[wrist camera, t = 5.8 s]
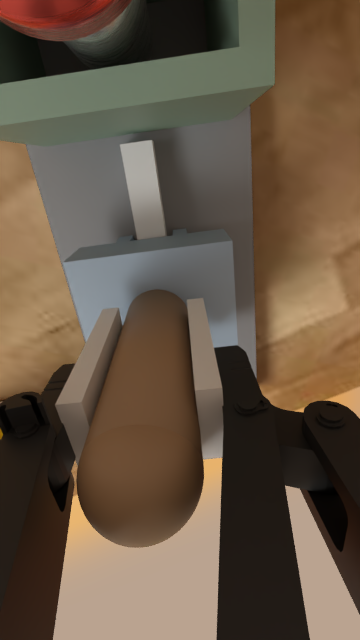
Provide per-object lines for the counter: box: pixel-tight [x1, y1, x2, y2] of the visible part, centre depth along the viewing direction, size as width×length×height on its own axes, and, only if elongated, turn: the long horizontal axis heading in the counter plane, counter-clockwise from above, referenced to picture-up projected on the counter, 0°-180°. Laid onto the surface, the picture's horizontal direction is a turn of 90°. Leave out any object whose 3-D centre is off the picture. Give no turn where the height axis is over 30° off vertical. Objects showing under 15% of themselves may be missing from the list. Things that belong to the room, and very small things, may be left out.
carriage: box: [63, 228, 238, 547], centre depth 14 cm, size 8×7×15 cm
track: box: [0, 0, 275, 380], centre depth 17 cm, size 12×25×10 cm, turn 7°
